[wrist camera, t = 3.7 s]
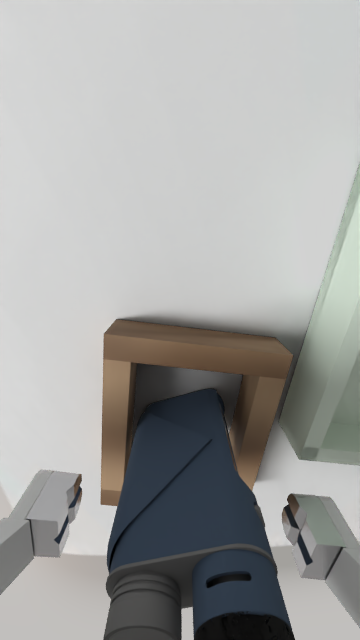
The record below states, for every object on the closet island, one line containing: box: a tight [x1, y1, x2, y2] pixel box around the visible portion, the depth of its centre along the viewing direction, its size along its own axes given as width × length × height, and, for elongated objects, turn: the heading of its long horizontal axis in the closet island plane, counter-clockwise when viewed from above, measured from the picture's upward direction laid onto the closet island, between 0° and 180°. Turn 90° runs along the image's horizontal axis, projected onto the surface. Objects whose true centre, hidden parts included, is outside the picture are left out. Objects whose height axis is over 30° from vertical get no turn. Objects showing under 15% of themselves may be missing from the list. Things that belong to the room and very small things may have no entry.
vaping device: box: [104, 389, 295, 640], centre depth 8 cm, size 3×5×12 cm, turn 108°
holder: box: [101, 319, 293, 506], centre depth 12 cm, size 10×8×2 cm
